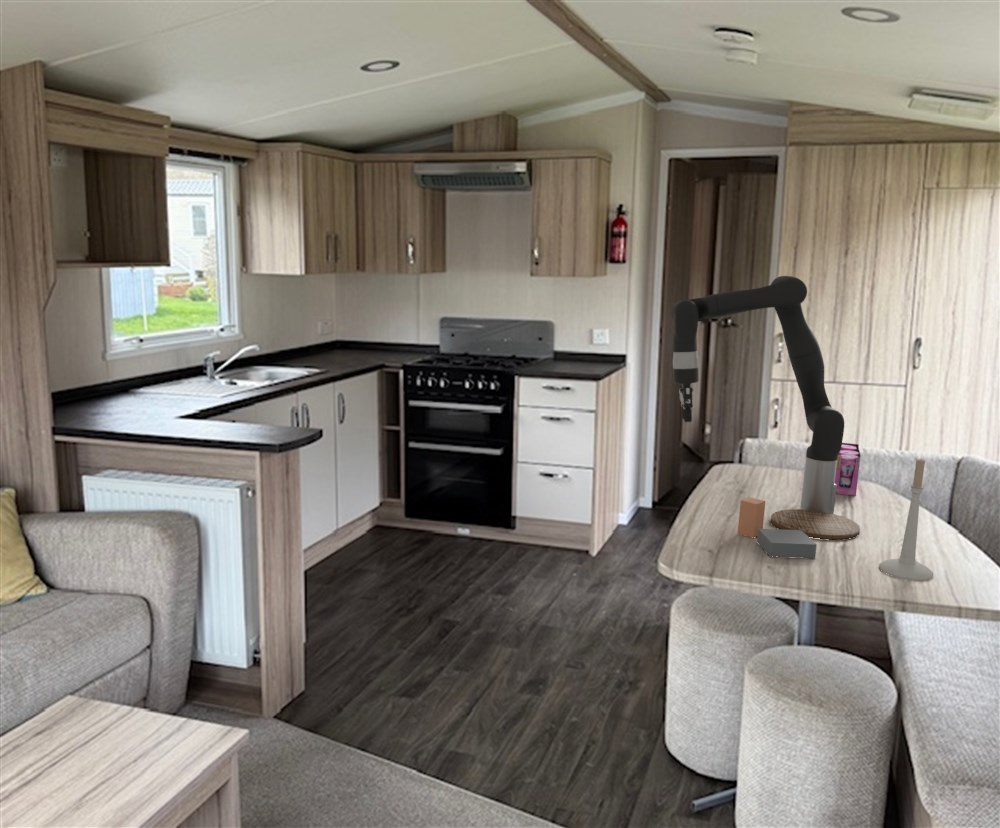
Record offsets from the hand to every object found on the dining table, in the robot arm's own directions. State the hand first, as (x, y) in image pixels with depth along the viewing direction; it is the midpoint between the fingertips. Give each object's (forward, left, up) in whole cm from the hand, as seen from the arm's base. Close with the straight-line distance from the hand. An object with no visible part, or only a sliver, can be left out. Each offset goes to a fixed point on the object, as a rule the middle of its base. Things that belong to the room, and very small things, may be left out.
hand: (686, 420), depth 275 cm
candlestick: (-48, +49, -28) cm, 74 cm away
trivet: (-37, +13, -29) cm, 49 cm away
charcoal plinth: (-21, +36, -28) cm, 50 cm away
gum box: (-65, -36, -28) cm, 79 cm away
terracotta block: (-15, +23, -28) cm, 39 cm away
